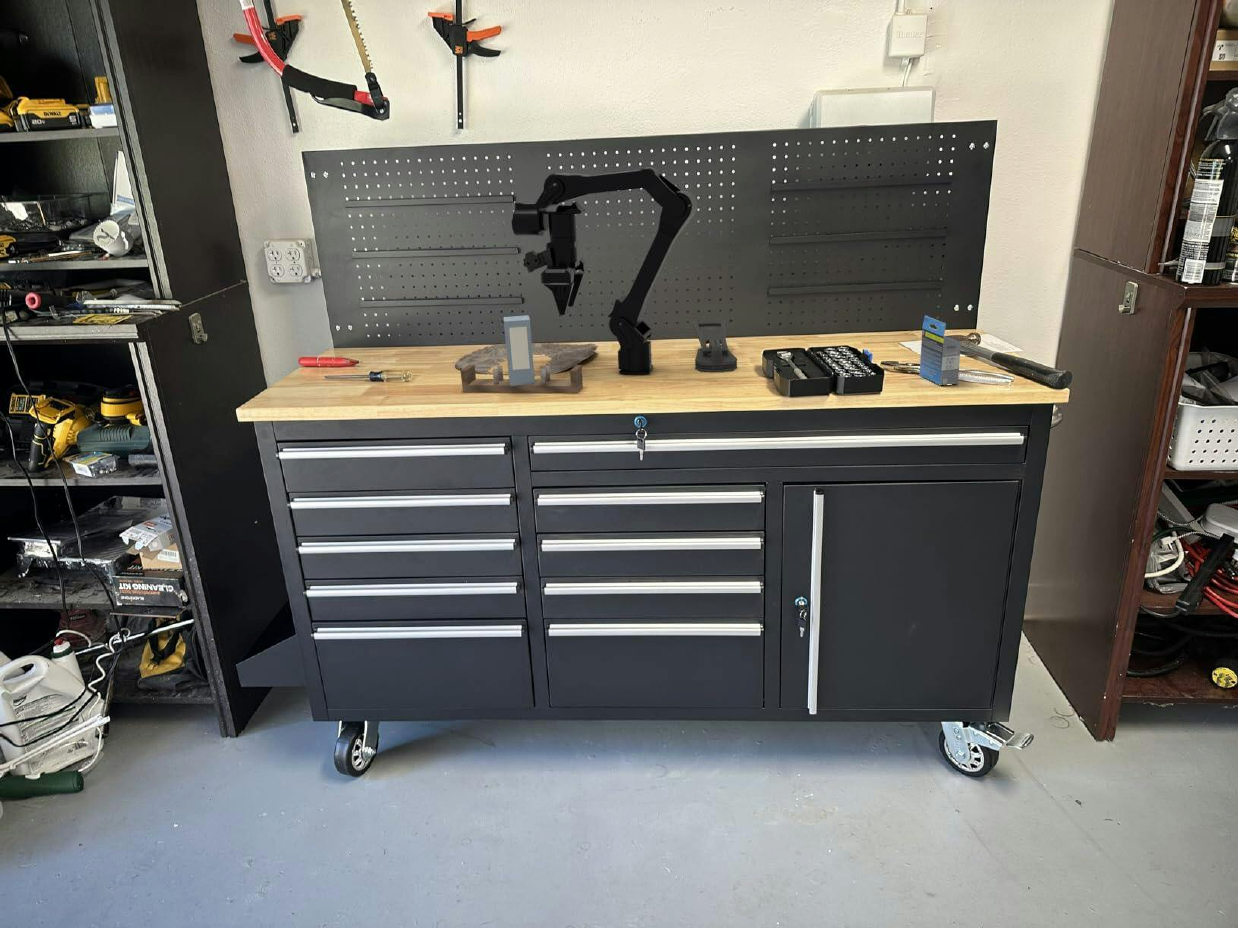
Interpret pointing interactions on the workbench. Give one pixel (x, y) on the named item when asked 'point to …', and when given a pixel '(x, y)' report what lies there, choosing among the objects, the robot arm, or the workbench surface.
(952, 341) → the label tape box
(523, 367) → the frame block
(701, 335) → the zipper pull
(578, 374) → the rail
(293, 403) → the workbench surface
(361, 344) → the workbench surface
